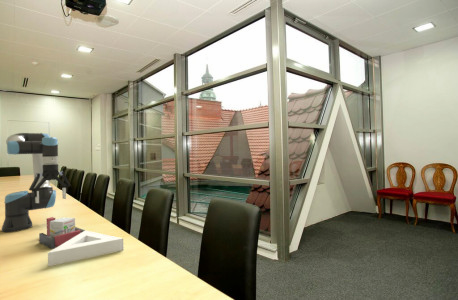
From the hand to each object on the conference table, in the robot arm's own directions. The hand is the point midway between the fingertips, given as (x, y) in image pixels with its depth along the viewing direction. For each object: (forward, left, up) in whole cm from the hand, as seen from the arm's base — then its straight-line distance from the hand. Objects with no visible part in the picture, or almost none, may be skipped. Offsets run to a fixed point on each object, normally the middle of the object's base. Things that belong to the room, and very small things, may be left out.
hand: (51, 200), depth 147 cm
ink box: (+15, 0, -20) cm, 25 cm away
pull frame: (+10, 0, -20) cm, 22 cm away
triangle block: (+37, +2, -21) cm, 43 cm away
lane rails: (+15, 0, -20) cm, 26 cm away
